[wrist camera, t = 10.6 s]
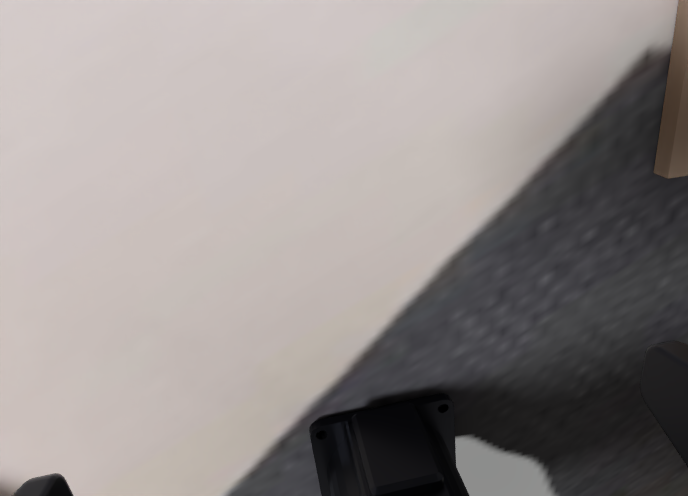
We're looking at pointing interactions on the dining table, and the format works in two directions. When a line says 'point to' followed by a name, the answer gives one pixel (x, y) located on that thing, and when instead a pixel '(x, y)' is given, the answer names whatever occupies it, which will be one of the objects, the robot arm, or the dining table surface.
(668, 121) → the board
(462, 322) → the dining table surface
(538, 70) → the dining table surface
